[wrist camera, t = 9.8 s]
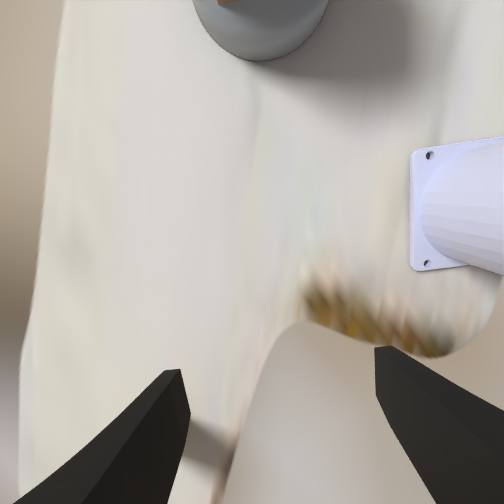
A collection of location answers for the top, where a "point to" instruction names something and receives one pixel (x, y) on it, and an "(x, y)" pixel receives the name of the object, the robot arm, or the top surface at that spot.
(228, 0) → the walnut block
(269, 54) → the grey rounded dome
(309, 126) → the top surface
